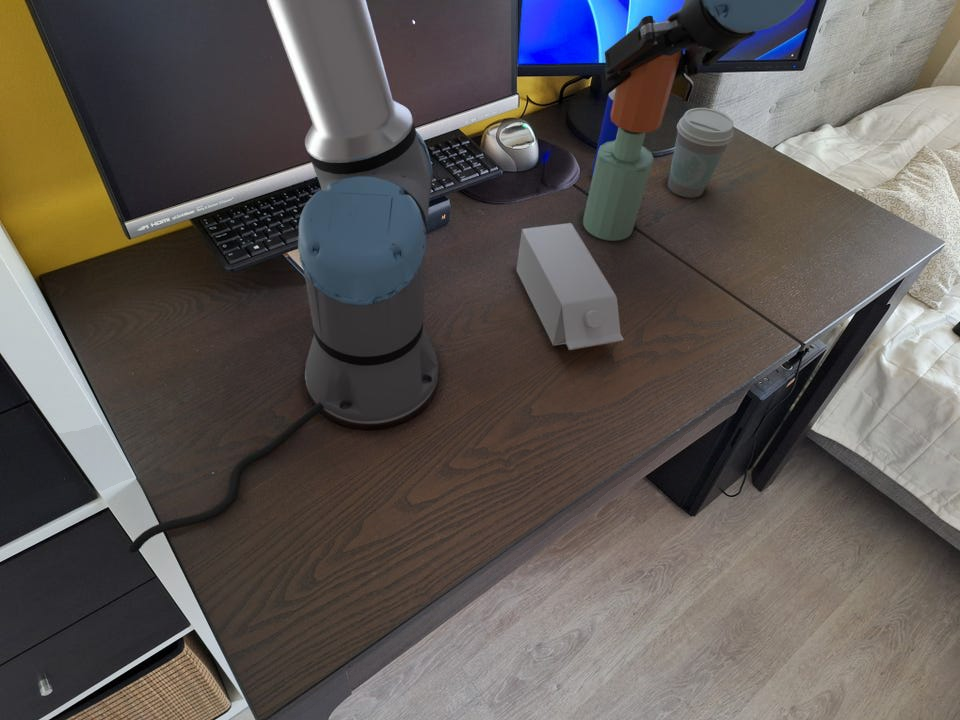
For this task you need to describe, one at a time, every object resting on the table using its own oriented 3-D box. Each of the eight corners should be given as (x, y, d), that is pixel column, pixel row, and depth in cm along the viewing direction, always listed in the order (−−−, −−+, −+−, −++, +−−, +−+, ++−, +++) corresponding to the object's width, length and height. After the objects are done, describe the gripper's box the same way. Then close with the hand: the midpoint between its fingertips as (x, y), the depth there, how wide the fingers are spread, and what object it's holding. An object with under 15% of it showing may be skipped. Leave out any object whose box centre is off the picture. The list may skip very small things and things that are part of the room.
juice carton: (562, 263, 95) (617, 359, 83) (515, 269, 93) (564, 369, 81) (571, 221, 90) (630, 318, 78) (521, 228, 88) (574, 328, 76)
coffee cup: (649, 179, 111) (669, 111, 102) (688, 168, 114) (711, 101, 105) (682, 207, 106) (706, 138, 97) (722, 195, 109) (749, 127, 100)
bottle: (600, 245, 98) (625, 147, 86) (573, 216, 103) (593, 119, 91) (642, 234, 101) (672, 137, 89) (614, 206, 105) (639, 110, 93)
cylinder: (629, 136, 86) (648, 58, 78) (601, 112, 90) (617, 35, 82) (670, 127, 88) (693, 50, 81) (641, 104, 92) (660, 29, 85)
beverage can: (621, 171, 112) (643, 84, 101) (622, 188, 109) (645, 100, 98) (590, 167, 112) (609, 80, 101) (591, 185, 109) (610, 96, 98)
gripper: (651, 41, 64) (564, 116, 87) (823, 31, 69) (699, 105, 91) (641, -39, 64) (556, 57, 86) (815, -44, 68) (692, 48, 91)
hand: (630, 81), depth 89 cm, fingers closed on cylinder, 7 cm apart
